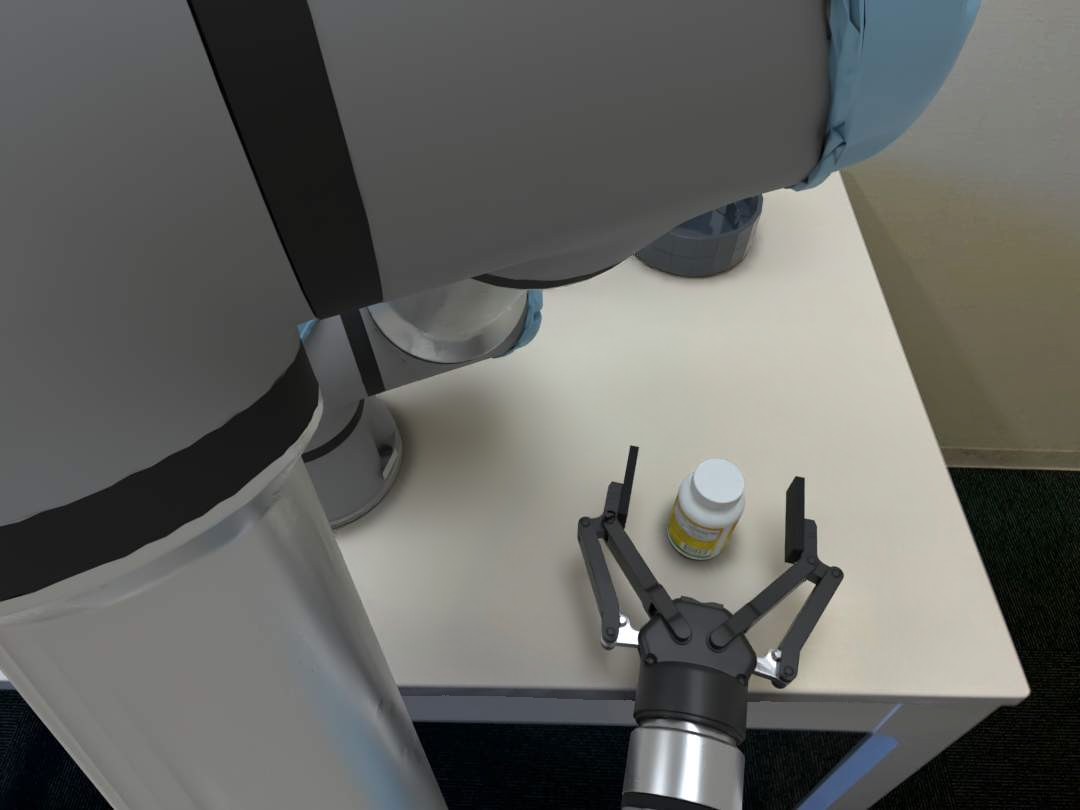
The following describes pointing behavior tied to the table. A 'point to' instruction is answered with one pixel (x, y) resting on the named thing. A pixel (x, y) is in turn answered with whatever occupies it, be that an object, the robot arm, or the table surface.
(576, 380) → the table surface
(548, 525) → the table surface
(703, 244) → the grey round tub
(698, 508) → the supplement bottle
